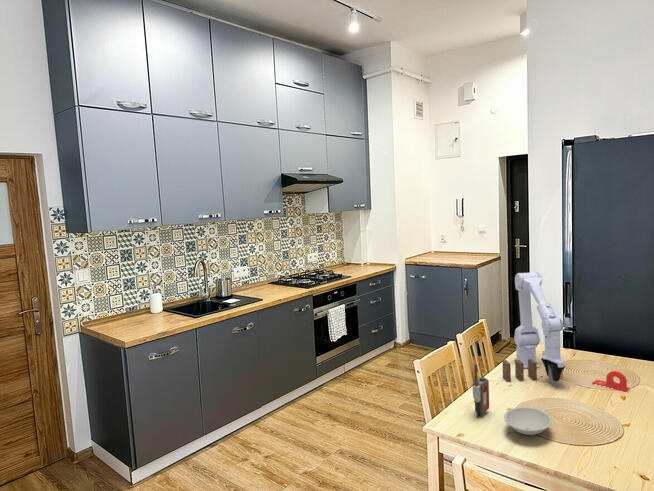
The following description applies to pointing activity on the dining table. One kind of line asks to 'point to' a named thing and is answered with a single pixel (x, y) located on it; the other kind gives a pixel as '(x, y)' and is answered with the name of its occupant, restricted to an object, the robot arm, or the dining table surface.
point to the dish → (527, 420)
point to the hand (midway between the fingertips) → (552, 378)
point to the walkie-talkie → (480, 393)
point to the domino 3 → (561, 375)
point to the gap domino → (550, 379)
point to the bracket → (611, 384)
